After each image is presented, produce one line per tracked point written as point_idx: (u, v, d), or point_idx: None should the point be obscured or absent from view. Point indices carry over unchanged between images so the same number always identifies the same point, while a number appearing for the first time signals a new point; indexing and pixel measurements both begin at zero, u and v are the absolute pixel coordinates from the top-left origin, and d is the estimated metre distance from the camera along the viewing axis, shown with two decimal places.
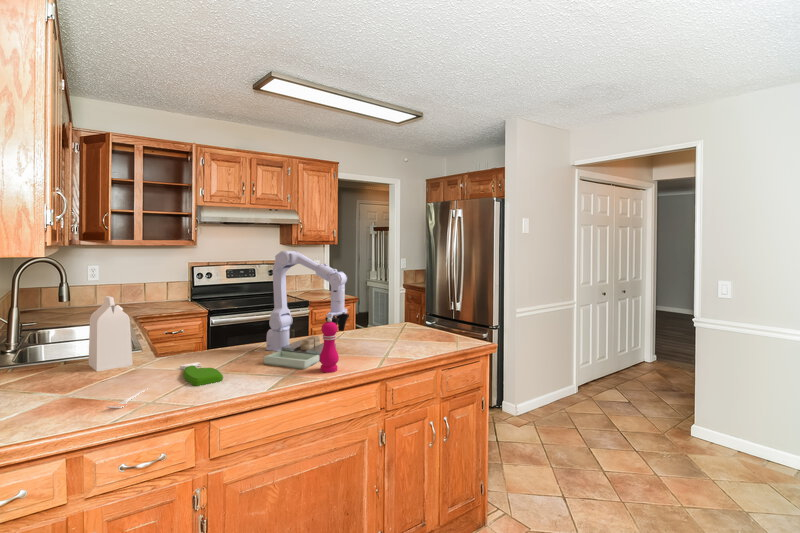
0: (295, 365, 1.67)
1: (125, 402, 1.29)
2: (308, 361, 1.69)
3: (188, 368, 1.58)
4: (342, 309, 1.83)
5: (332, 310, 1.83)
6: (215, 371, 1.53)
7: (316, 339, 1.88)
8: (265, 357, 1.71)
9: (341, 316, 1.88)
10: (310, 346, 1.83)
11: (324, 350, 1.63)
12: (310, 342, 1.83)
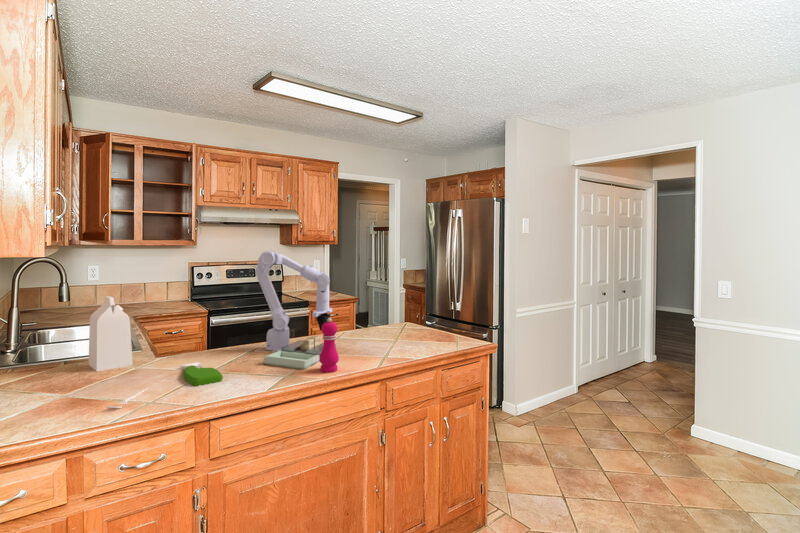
0: (295, 365, 1.67)
1: (125, 402, 1.29)
2: (308, 361, 1.69)
3: (188, 368, 1.58)
4: (327, 308, 1.95)
5: (317, 309, 1.94)
6: (215, 371, 1.53)
7: (316, 339, 1.88)
8: (265, 357, 1.71)
9: None
10: (310, 346, 1.83)
11: (324, 350, 1.63)
12: (310, 342, 1.83)
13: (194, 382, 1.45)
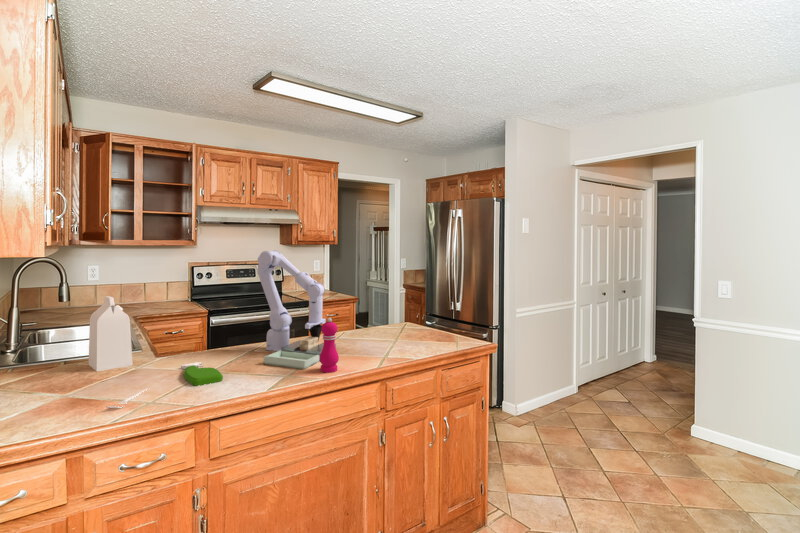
0: (295, 365, 1.67)
1: (125, 402, 1.29)
2: (308, 361, 1.69)
3: (189, 368, 1.58)
4: (320, 319, 1.89)
5: (310, 320, 1.89)
6: (215, 371, 1.53)
7: (314, 340, 1.86)
8: (265, 357, 1.71)
9: None
10: (309, 346, 1.83)
11: (324, 350, 1.63)
12: (309, 342, 1.83)
13: (194, 382, 1.45)
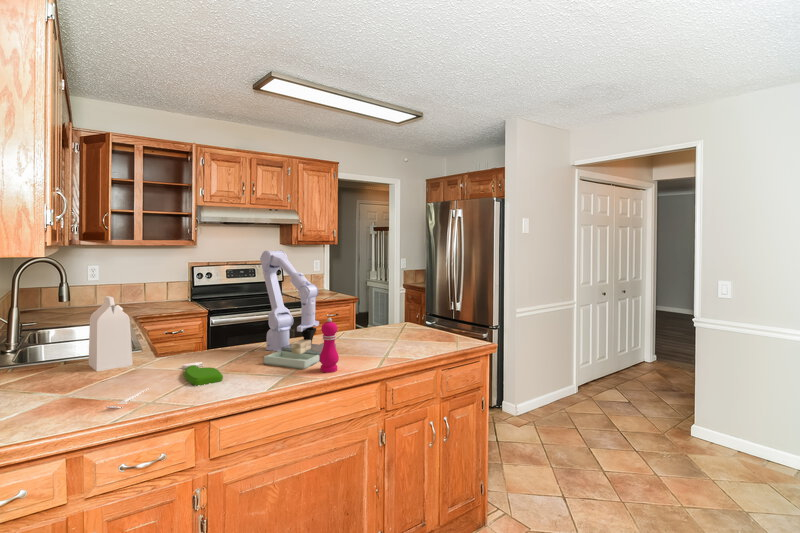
0: (295, 365, 1.67)
1: (124, 402, 1.29)
2: (308, 361, 1.69)
3: (189, 368, 1.58)
4: (313, 322, 1.83)
5: (302, 323, 1.83)
6: (215, 371, 1.53)
7: (307, 343, 1.81)
8: (265, 357, 1.71)
9: None
10: (302, 350, 1.77)
11: (324, 350, 1.63)
12: (302, 346, 1.77)
13: (194, 382, 1.45)
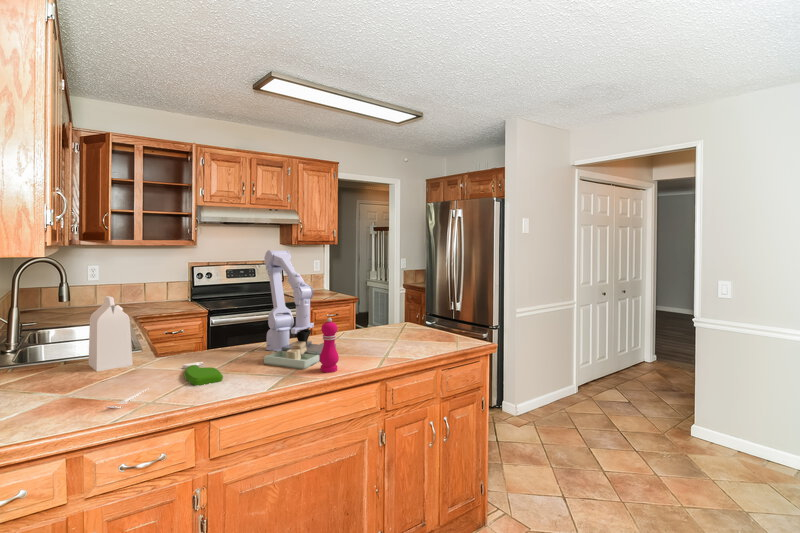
0: (295, 365, 1.67)
1: (124, 402, 1.29)
2: (308, 361, 1.69)
3: (190, 367, 1.58)
4: (307, 324, 1.79)
5: (297, 325, 1.79)
6: (215, 371, 1.53)
7: (302, 346, 1.77)
8: (265, 357, 1.71)
9: None
10: (298, 357, 1.75)
11: (324, 350, 1.63)
12: (296, 358, 1.74)
13: (194, 382, 1.45)
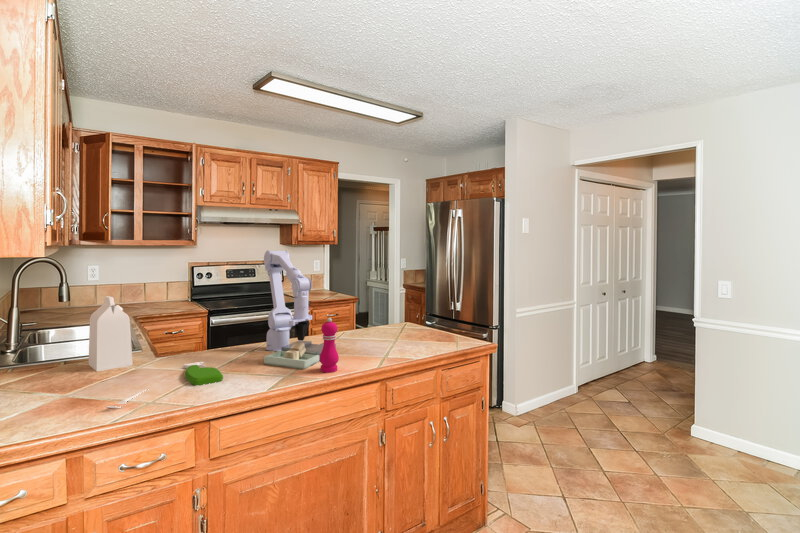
0: (295, 365, 1.67)
1: (124, 402, 1.29)
2: (308, 361, 1.69)
3: (190, 367, 1.58)
4: (305, 316, 1.78)
5: (295, 317, 1.77)
6: (215, 371, 1.54)
7: (300, 348, 1.76)
8: (265, 357, 1.71)
9: None
10: (297, 358, 1.74)
11: (324, 350, 1.63)
12: None
13: (194, 382, 1.45)
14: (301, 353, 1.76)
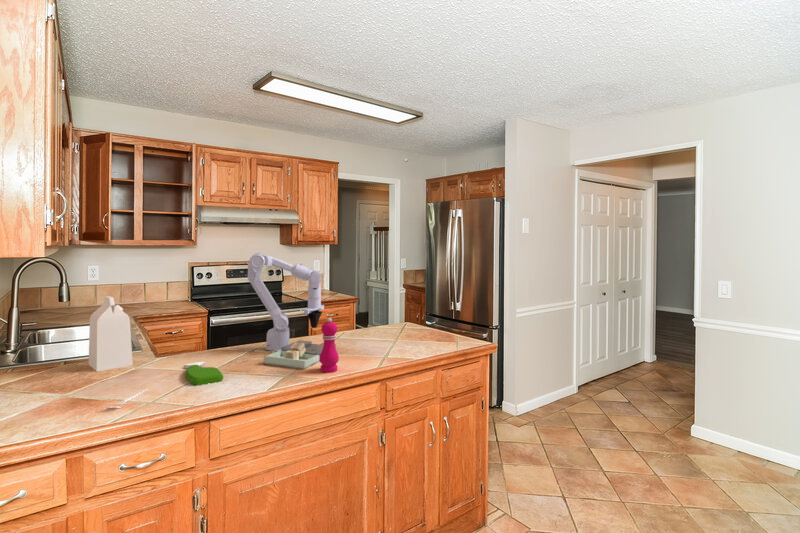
0: (295, 365, 1.67)
1: (124, 402, 1.29)
2: (308, 361, 1.69)
3: (191, 367, 1.59)
4: (318, 305, 1.95)
5: (309, 306, 1.95)
6: (216, 371, 1.54)
7: (300, 348, 1.76)
8: (265, 357, 1.71)
9: None
10: (297, 358, 1.74)
11: (324, 350, 1.63)
12: None
13: (194, 381, 1.46)
14: (301, 353, 1.76)
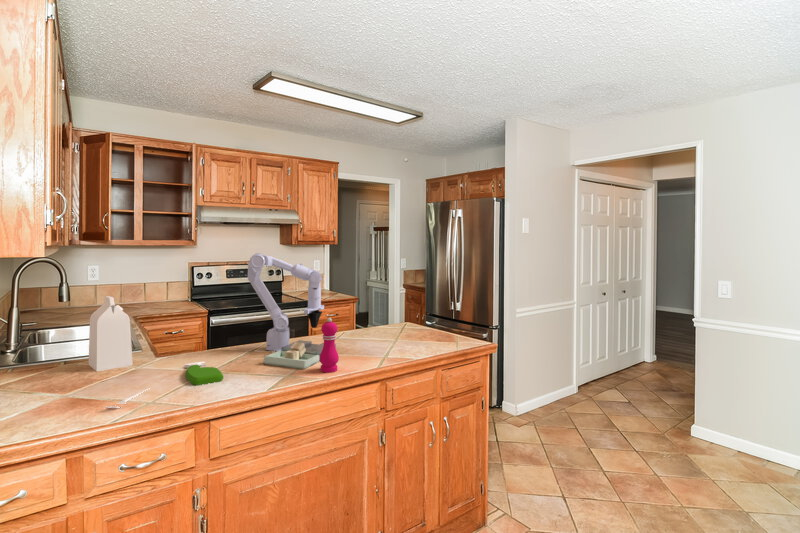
0: (295, 365, 1.67)
1: (124, 402, 1.29)
2: (308, 361, 1.69)
3: (191, 367, 1.59)
4: (318, 305, 1.95)
5: (309, 306, 1.95)
6: (216, 371, 1.54)
7: (300, 348, 1.76)
8: (265, 357, 1.71)
9: None
10: (297, 358, 1.74)
11: (324, 350, 1.63)
12: None
13: (194, 381, 1.46)
14: (301, 353, 1.76)
